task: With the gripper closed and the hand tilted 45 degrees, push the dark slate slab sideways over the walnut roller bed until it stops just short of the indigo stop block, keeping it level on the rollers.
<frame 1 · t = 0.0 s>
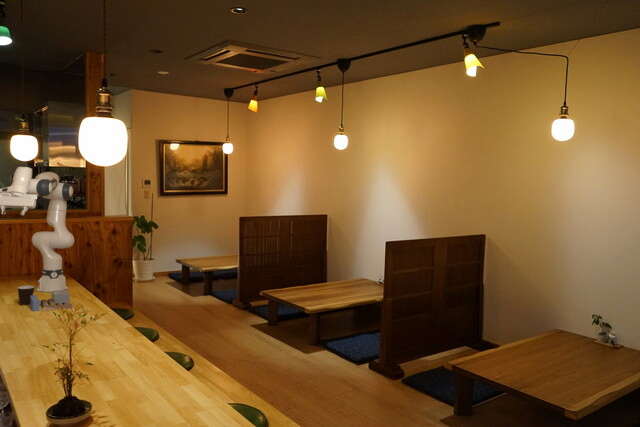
hand: (12, 214, 275), 54 cm above the counter, tool tilted 30°, fingers open, 8 cm apart
stop block: (34, 308, 288), on the counter
roller bed: (55, 306, 294), on the counter
slab: (60, 300, 295), point 3 cm above the counter, touching roller bed
coffee mug: (27, 303, 297), on the counter
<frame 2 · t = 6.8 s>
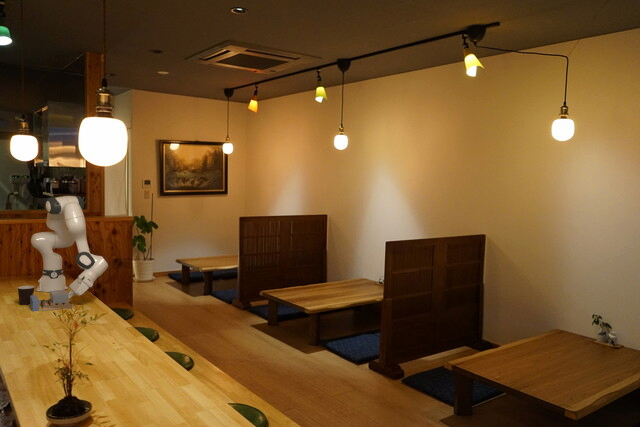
hand: (67, 297, 297), 5 cm above the counter, tool tilted 45°, fingers closed, pressing on slab
slab: (59, 300, 295), point 3 cm above the counter, touching gripper, roller bed
everything else where it was.
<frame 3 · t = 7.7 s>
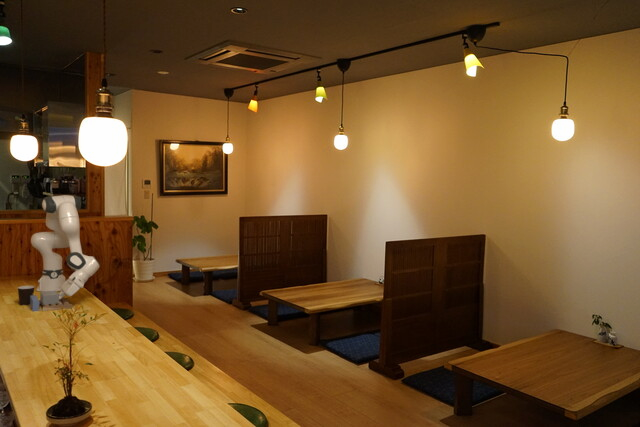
hand: (58, 298, 294), 5 cm above the counter, tool tilted 45°, fingers closed, pressing on slab
slab: (49, 301, 292), point 3 cm above the counter, touching gripper, roller bed
everything else where it was.
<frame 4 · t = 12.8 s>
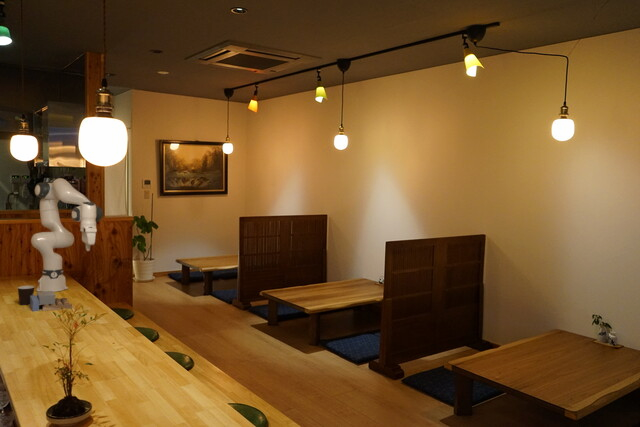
hand: (87, 250, 309), 31 cm above the counter, tool pointing down, fingers closed
slab: (45, 302, 291), point 3 cm above the counter, touching roller bed
everything else where it was.
at the end: slab inside the target area (0.7 cm from its centre), point 3.1 cm above the counter; slab point 3.1 cm above the counter; slab tilted 0° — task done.
